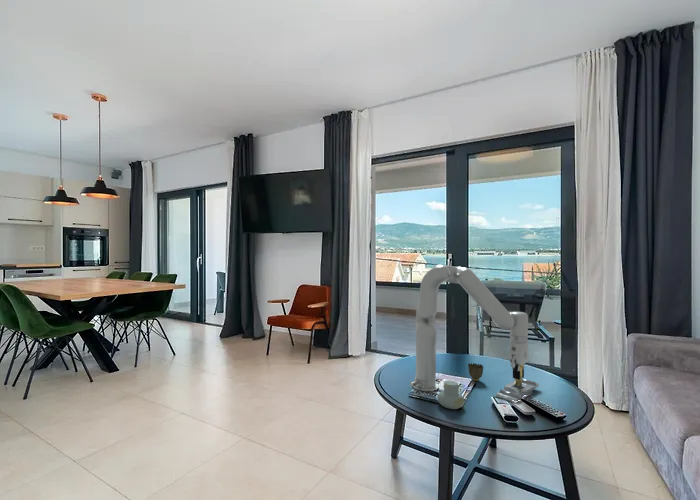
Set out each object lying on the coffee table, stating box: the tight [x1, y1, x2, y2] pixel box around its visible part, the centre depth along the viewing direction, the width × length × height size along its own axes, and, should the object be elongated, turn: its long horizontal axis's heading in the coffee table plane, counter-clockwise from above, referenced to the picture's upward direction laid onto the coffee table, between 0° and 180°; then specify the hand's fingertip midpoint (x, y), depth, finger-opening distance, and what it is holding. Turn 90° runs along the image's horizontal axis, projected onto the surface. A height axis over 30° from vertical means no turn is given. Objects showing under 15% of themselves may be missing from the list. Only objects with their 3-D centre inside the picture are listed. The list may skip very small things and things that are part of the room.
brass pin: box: [514, 362, 525, 386], centre depth 164 cm, size 4×4×10 cm
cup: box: [467, 362, 484, 382], centre depth 179 cm, size 8×7×8 cm
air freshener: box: [437, 380, 465, 410], centre depth 149 cm, size 11×8×10 cm
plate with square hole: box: [495, 378, 540, 402], centre depth 164 cm, size 24×9×4 cm, turn 131°
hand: (518, 377), depth 164 cm, fingers closed on brass pin, 3 cm apart
